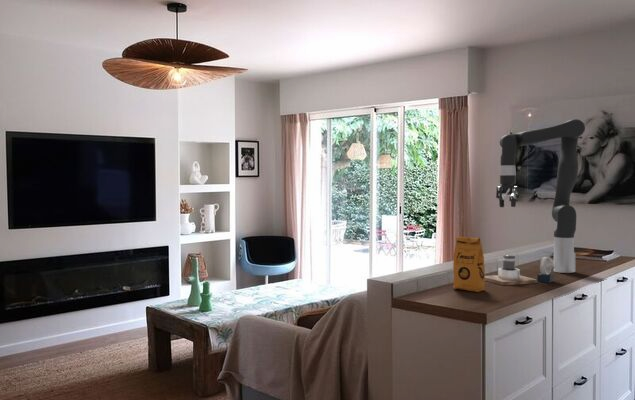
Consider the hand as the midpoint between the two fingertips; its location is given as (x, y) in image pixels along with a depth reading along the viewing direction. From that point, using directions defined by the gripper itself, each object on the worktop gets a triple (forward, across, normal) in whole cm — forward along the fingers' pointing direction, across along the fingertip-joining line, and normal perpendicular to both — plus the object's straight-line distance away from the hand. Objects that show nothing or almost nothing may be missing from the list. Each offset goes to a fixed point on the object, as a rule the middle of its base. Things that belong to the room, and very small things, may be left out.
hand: (507, 207), depth 287 cm
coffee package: (+32, -54, -25) cm, 68 cm away
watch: (+32, -11, -30) cm, 45 cm away
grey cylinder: (+30, -24, -20) cm, 44 cm away
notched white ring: (+31, -24, -20) cm, 44 cm away
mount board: (+32, -24, -20) cm, 45 cm away
